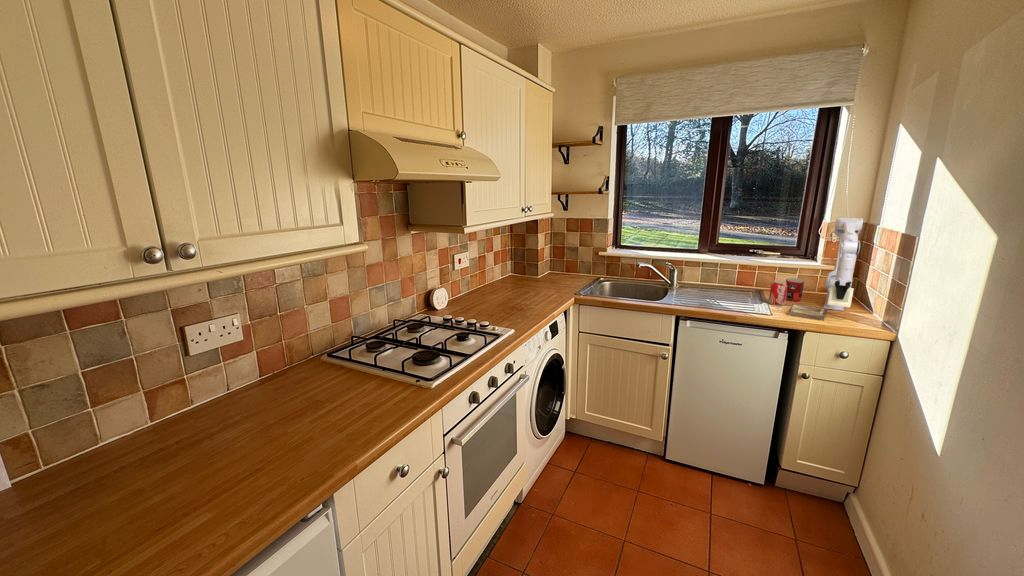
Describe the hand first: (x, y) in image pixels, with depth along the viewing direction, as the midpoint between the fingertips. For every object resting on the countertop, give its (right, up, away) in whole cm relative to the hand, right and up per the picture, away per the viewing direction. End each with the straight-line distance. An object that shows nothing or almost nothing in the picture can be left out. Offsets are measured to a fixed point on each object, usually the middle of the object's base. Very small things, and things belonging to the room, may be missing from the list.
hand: (840, 298), depth 185 cm
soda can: (-12, -4, +26) cm, 29 cm away
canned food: (+1, -2, +34) cm, 34 cm away
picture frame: (0, -3, +1) cm, 3 cm away
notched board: (-6, -7, +12) cm, 15 cm away
